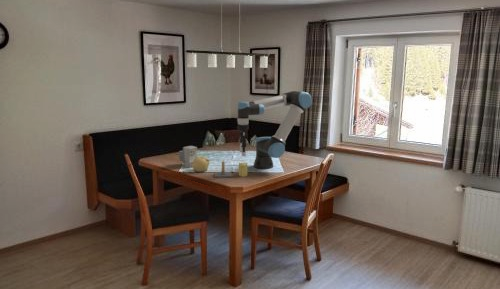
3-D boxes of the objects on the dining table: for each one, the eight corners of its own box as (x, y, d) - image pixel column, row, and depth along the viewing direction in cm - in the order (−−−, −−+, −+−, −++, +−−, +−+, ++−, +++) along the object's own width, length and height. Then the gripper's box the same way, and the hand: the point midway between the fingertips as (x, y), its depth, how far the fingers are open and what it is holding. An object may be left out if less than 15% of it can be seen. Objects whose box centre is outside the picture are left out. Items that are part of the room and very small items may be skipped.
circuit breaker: (185, 163, 305) (184, 144, 302) (197, 166, 296) (197, 147, 293) (178, 164, 299) (177, 146, 296) (190, 168, 290) (189, 148, 287)
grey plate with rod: (231, 173, 277) (231, 160, 275) (232, 177, 267) (232, 163, 265) (214, 173, 276) (214, 160, 273) (214, 177, 266) (214, 163, 264)
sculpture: (211, 169, 286) (211, 155, 284) (203, 173, 276) (203, 159, 273) (198, 168, 291) (197, 154, 289) (189, 172, 280) (189, 157, 278)
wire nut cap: (246, 173, 276) (246, 162, 274) (247, 176, 270) (247, 164, 269) (238, 174, 276) (238, 162, 274) (239, 176, 270) (239, 164, 268)
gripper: (236, 121, 277) (235, 150, 281) (239, 126, 253) (238, 158, 257) (246, 121, 278) (246, 150, 282) (250, 126, 254) (249, 158, 258)
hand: (242, 154), depth 270 cm, fingers open, 13 cm apart
